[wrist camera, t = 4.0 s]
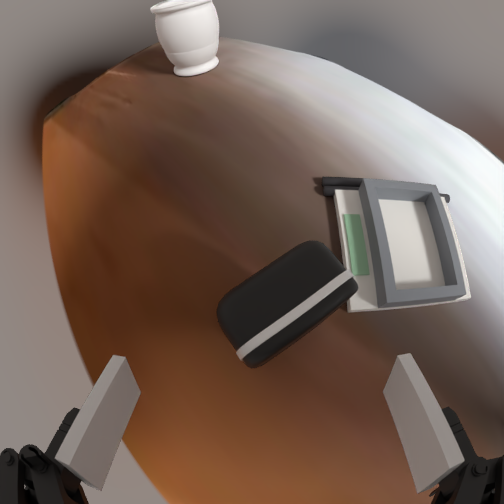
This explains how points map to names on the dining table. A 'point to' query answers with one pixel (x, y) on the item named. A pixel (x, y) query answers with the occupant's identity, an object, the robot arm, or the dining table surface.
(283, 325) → the black rounded block
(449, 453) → the robot arm
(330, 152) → the dining table surface
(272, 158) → the dining table surface
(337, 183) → the slim dark grey rod
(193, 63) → the jar
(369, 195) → the panel board
